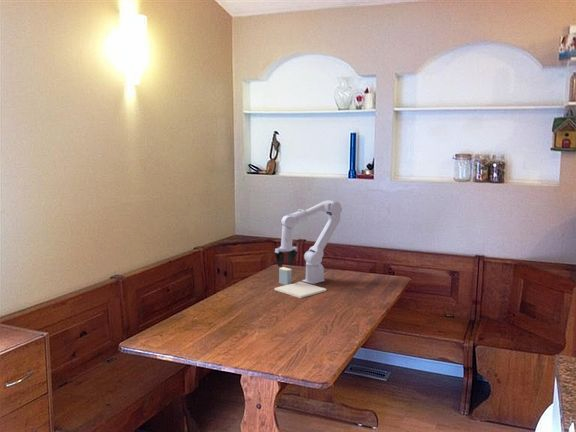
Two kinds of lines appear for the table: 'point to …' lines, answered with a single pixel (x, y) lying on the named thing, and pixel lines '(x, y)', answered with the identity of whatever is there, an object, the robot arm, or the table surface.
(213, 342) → the table surface
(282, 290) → the tile
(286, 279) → the block
